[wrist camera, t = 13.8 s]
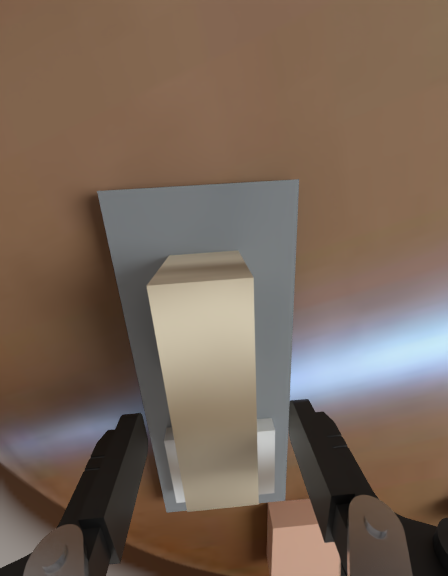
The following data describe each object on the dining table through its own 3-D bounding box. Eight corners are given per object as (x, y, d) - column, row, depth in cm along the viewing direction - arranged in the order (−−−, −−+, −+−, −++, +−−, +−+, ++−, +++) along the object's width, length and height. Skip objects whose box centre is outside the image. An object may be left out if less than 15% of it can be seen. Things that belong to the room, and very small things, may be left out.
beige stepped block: (133, 258, 11) (91, 289, 7) (272, 247, 11) (306, 273, 7) (178, 488, 16) (167, 580, 12) (271, 479, 16) (290, 566, 12)
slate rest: (107, 191, 10) (96, 191, 10) (291, 181, 11) (299, 179, 10) (169, 495, 17) (166, 512, 16) (281, 484, 18) (285, 500, 17)
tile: (273, 528, 17) (271, 583, 19) (386, 517, 17) (370, 572, 19) (266, 495, 19) (265, 549, 21) (368, 485, 19) (356, 539, 21)
